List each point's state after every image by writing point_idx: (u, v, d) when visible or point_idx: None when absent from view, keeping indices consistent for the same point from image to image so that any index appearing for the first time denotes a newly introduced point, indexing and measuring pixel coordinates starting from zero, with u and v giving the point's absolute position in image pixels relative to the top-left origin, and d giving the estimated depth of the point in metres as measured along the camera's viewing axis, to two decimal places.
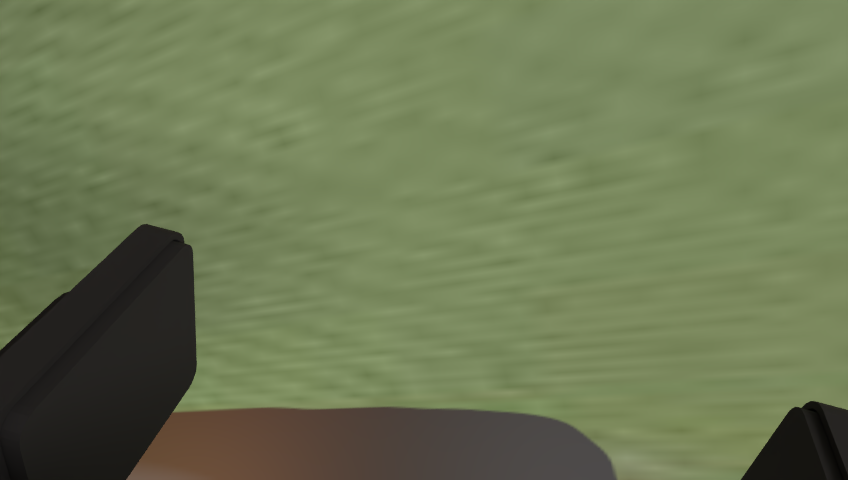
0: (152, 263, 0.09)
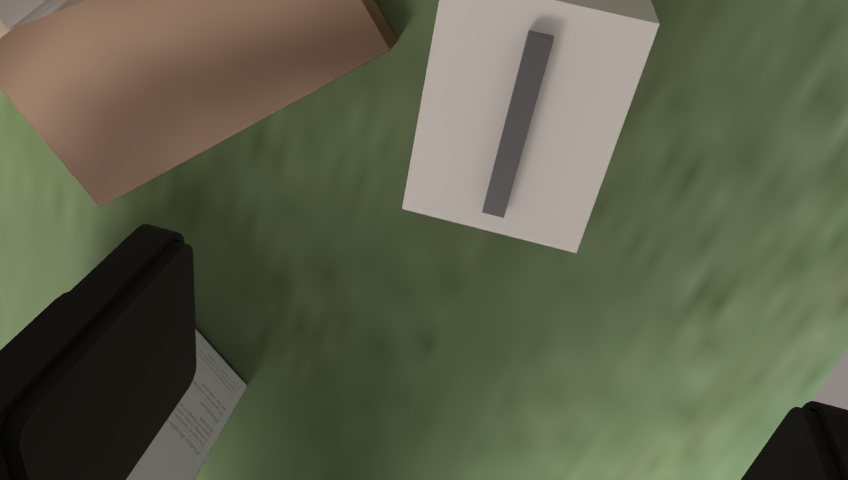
0: (152, 263, 0.09)
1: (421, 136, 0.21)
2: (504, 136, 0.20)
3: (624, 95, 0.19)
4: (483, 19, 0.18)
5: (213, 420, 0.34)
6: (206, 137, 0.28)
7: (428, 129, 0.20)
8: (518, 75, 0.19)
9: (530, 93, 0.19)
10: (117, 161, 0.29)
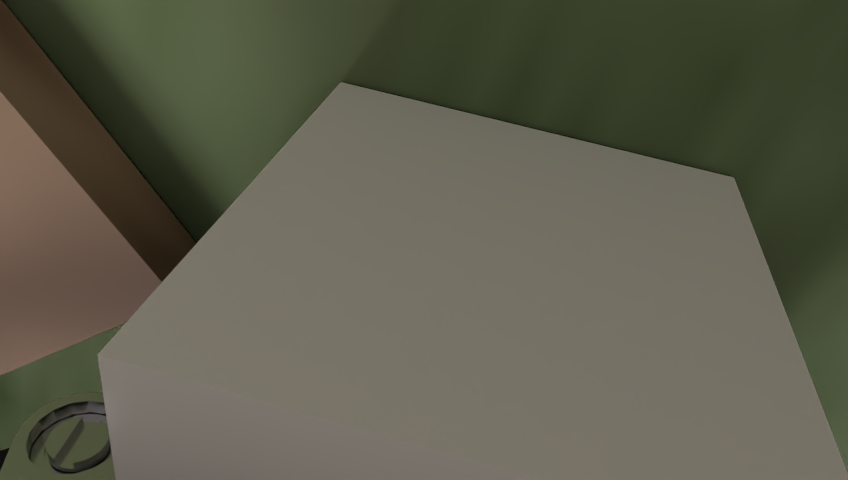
0: None
1: None
2: None
3: None
4: (257, 476, 0.05)
5: None
6: None
7: None
8: None
9: None
10: None
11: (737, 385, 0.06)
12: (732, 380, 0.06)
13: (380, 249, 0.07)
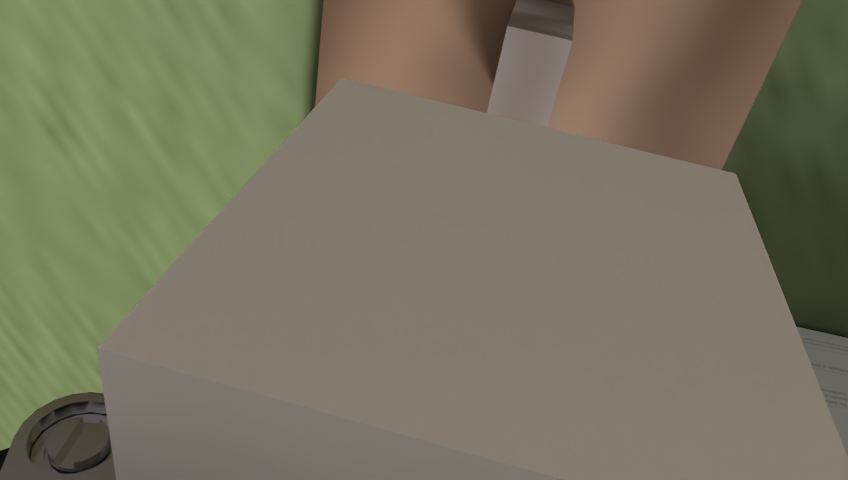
0: None
1: None
2: None
3: None
4: (258, 471, 0.05)
5: None
6: (731, 121, 0.25)
7: None
8: None
9: None
10: None
11: (740, 380, 0.06)
12: (735, 375, 0.06)
13: (381, 244, 0.07)
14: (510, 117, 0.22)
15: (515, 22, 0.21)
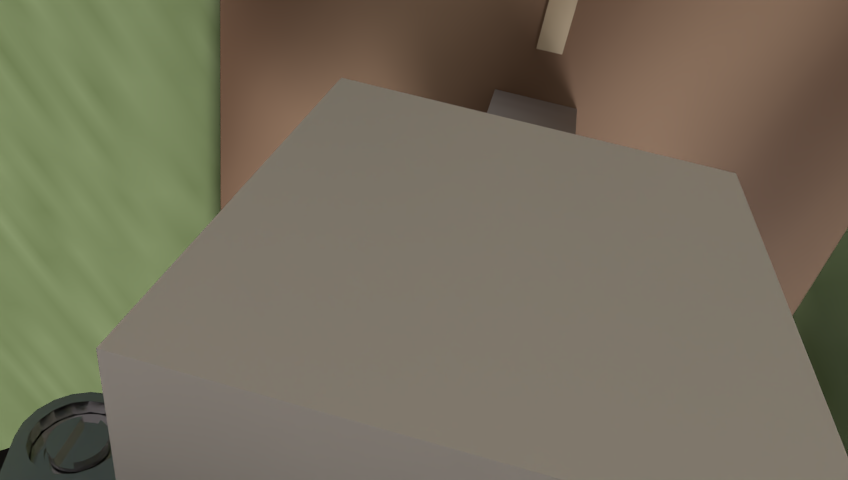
0: None
1: None
2: None
3: None
4: (258, 471, 0.05)
5: None
6: (802, 267, 0.17)
7: None
8: None
9: None
10: None
11: (740, 380, 0.06)
12: (735, 375, 0.06)
13: (381, 244, 0.07)
14: None
15: None
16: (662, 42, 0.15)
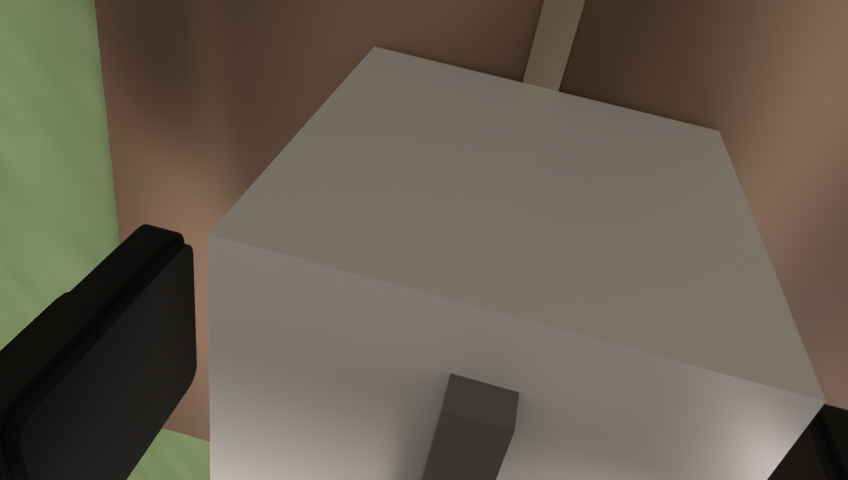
0: (152, 263, 0.09)
1: None
2: None
3: None
4: (329, 339, 0.07)
5: None
6: None
7: None
8: None
9: None
10: None
11: (715, 276, 0.07)
12: (711, 273, 0.07)
13: (420, 172, 0.08)
14: None
15: None
16: (681, 117, 0.11)
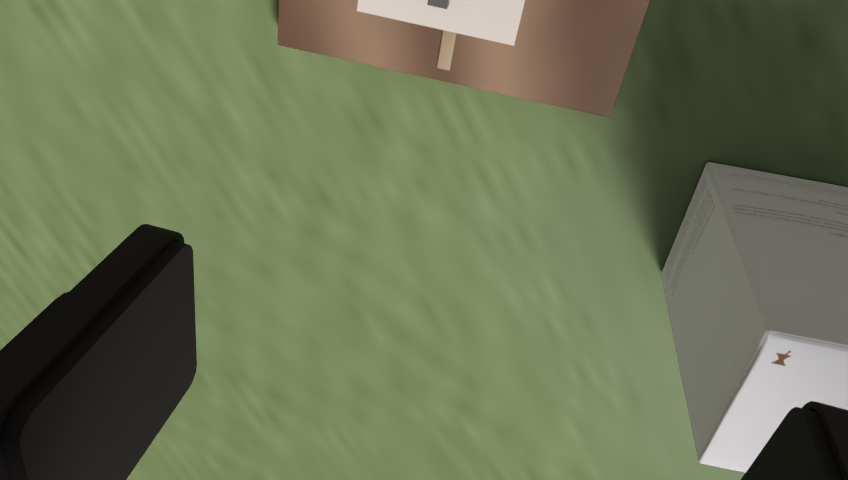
0: (152, 263, 0.09)
1: None
2: None
3: None
4: None
5: None
6: None
7: None
8: None
9: None
10: (597, 58, 0.30)
11: None
12: None
13: None
14: None
15: None
16: None
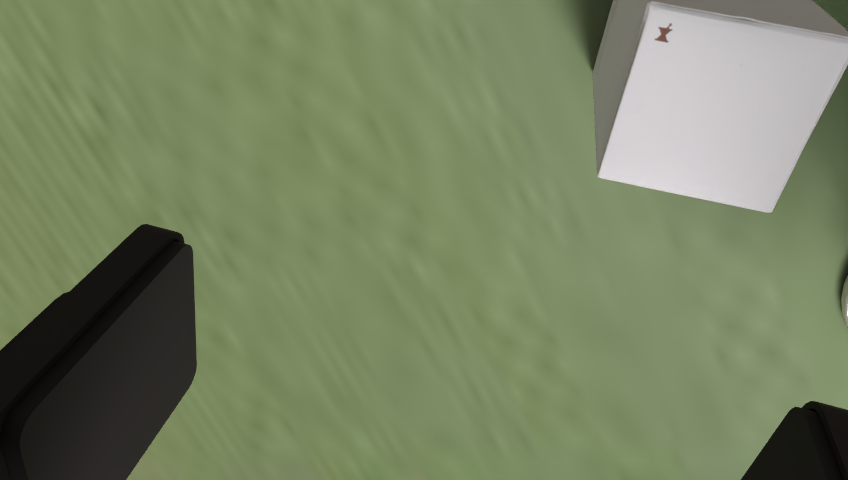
0: (152, 263, 0.09)
1: None
2: None
3: None
4: None
5: None
6: None
7: None
8: None
9: None
10: None
11: None
12: None
13: None
14: None
15: None
16: None
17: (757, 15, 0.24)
